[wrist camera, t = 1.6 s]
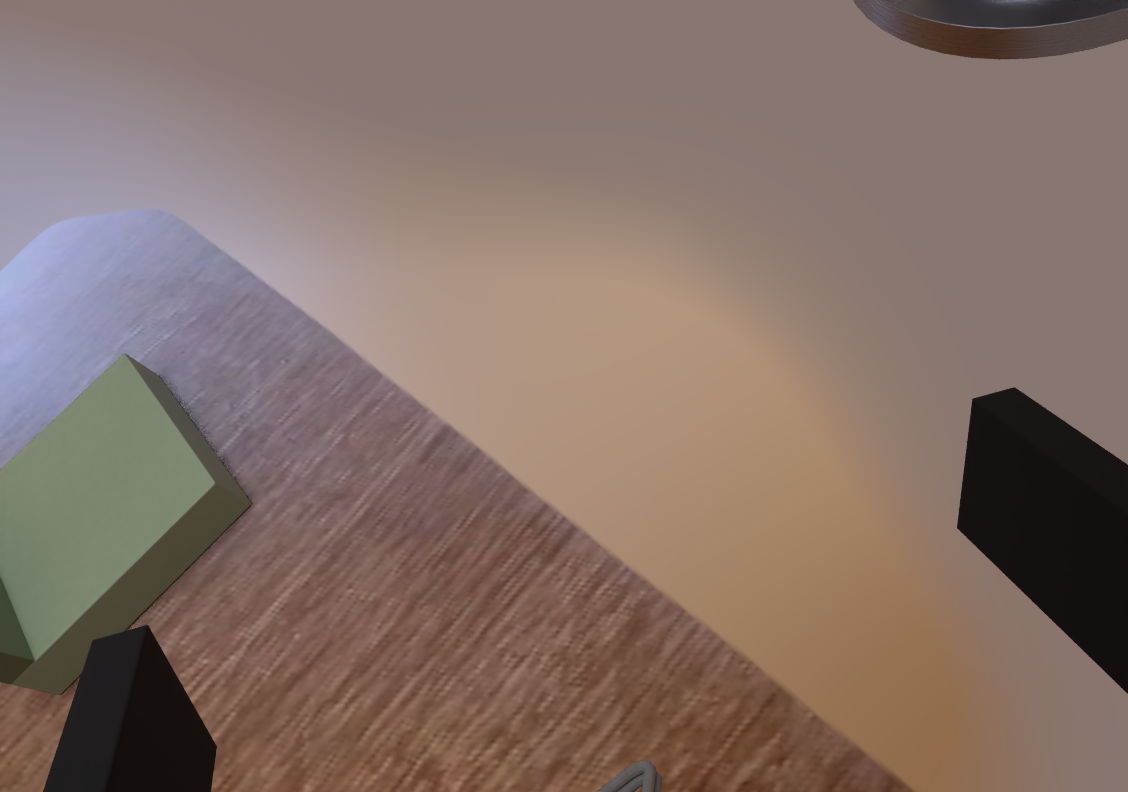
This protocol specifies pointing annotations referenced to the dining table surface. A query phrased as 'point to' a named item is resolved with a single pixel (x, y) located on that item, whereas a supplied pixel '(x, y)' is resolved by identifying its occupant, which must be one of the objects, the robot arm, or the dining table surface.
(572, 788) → the dining table surface
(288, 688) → the dining table surface
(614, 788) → the grenade
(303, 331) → the dining table surface
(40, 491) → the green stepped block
